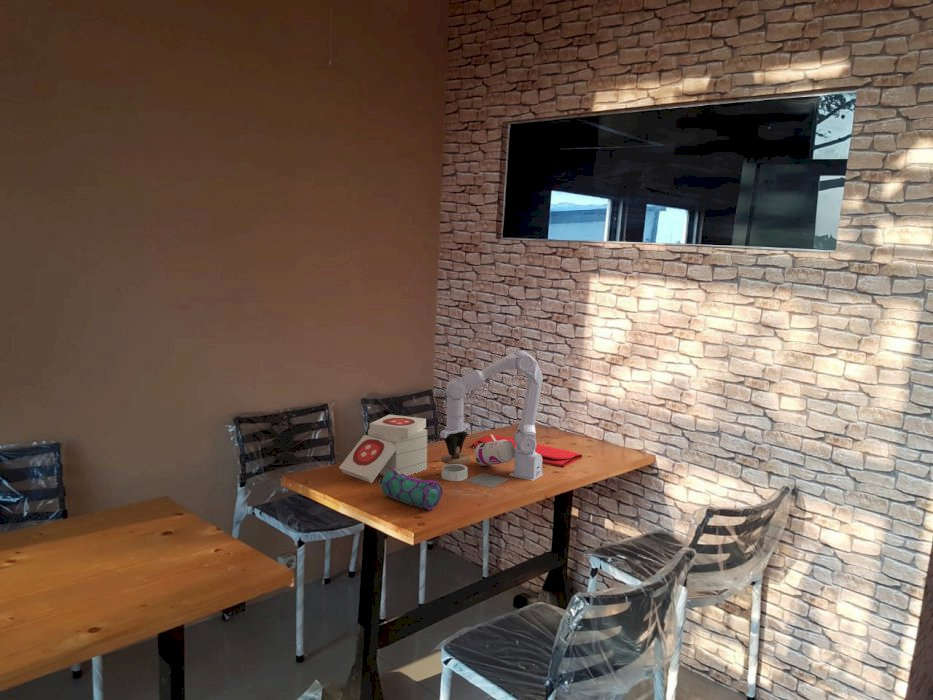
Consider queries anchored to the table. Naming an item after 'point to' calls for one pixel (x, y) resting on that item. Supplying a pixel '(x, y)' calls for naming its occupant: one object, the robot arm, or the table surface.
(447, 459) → the lid
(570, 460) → the dish drying mat
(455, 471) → the bowl
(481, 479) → the mat
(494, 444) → the supplement can
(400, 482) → the pencil case
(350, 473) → the pizza boxes
